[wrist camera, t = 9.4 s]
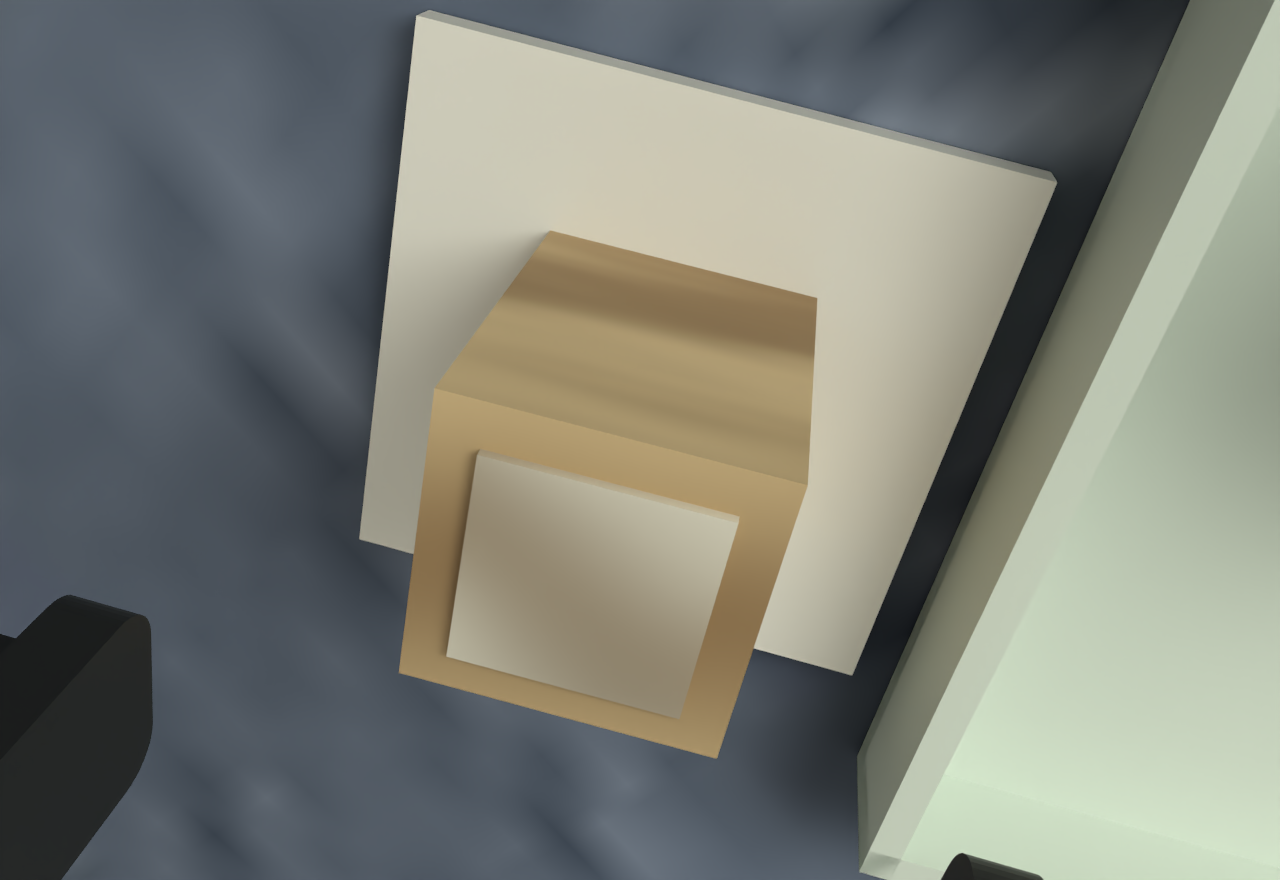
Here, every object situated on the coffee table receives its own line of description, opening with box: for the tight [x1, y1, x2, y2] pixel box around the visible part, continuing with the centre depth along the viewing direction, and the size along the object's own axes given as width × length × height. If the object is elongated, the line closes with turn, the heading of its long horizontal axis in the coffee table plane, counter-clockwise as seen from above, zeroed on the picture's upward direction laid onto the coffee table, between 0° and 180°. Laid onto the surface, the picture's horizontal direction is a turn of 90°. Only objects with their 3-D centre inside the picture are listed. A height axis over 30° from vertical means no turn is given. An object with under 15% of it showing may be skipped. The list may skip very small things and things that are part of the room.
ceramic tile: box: [359, 10, 1057, 675], centre depth 20 cm, size 10×10×1 cm
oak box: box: [399, 230, 817, 759], centre depth 17 cm, size 4×4×6 cm
